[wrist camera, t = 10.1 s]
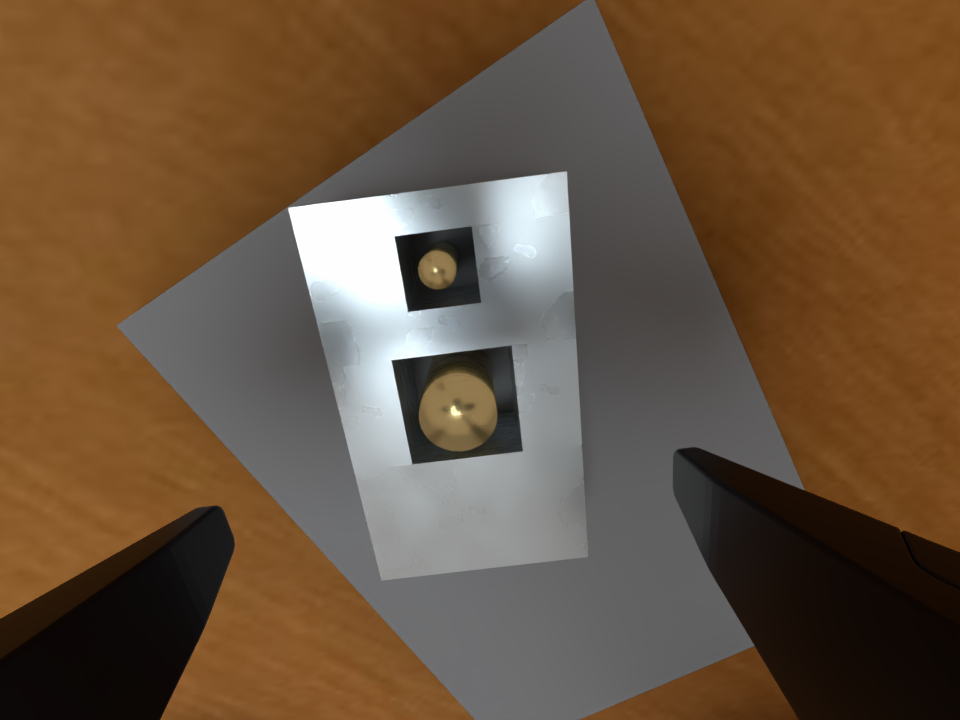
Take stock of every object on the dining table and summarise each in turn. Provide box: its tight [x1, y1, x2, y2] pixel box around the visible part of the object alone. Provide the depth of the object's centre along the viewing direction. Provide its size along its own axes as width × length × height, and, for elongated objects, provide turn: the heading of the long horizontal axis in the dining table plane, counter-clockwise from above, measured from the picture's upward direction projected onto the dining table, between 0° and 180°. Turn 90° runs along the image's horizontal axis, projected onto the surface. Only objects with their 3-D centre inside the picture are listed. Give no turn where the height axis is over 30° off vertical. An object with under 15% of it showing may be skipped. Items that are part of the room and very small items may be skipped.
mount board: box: [117, 0, 805, 720], centre depth 18 cm, size 26×18×1 cm
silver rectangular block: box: [288, 171, 588, 581], centre depth 15 cm, size 12×7×3 cm, turn 7°
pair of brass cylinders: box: [418, 242, 497, 451], centre depth 14 cm, size 6×2×4 cm, turn 7°
